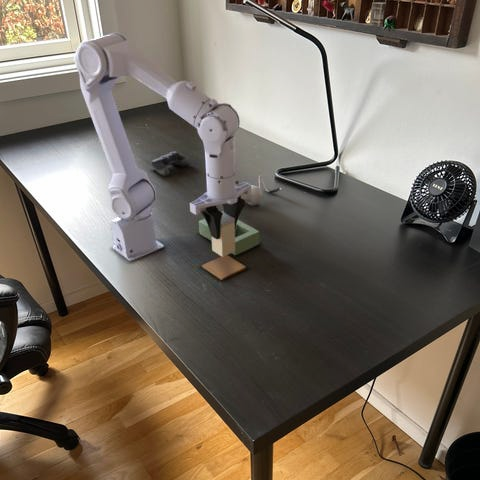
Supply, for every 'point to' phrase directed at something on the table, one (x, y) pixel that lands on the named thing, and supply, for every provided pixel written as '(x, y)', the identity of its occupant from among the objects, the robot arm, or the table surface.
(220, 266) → the cork pad
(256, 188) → the clip-on lamp
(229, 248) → the cream rectangular block
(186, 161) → the gaming controller
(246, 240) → the holder
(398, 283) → the table surface
